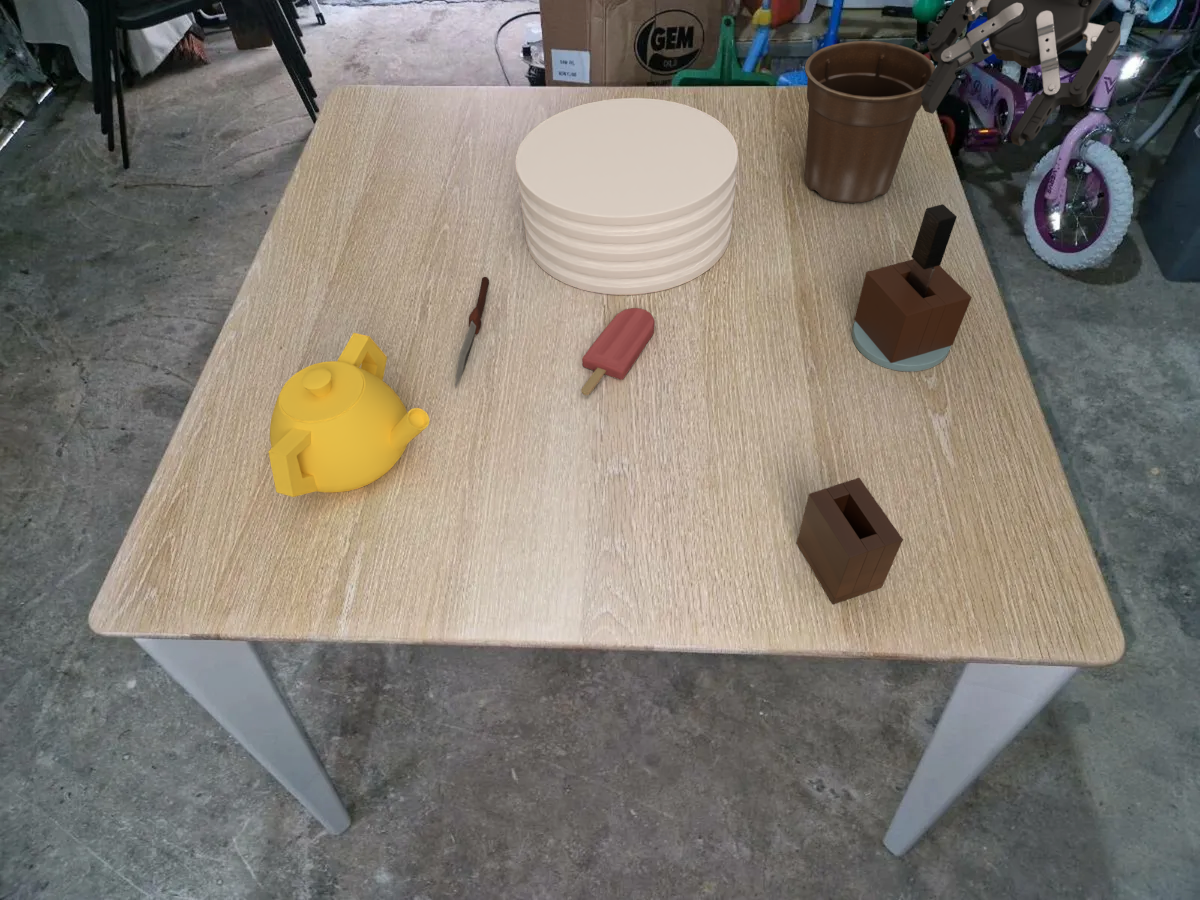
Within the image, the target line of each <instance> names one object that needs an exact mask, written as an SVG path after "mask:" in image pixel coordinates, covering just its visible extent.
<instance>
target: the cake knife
mask: <svg viewBox="0 0 1200 900" xmlns="http://www.w3.org/2000/svg"><path fill="white" fill-rule="evenodd" d="M922 217H923V218H922V220H921V224H920V227H919V230H918V233H917V237H916V241H915V242H914V243H915V244H914V246H913V250H912V253H911V258H912V259H914V263H913V266H912V270H911V273H910V276H909V279H908V283H909V284H910V285H911V286H912V287H913V288H914V289H915V290H916V292H917V293H918V294H919V295H920V296H921V297H922V298H925V297H926V294H927V291H928V288H929V285H930V282H931V279H932V276H933V273H934V270H935V269H934V268H933V267H935V266H939V265H940V266H941V264H942V261H943V259H944V255H945V253H946V250H947V247H948V244H949V241H950V237H951V234H952V232H953V229H954V227H955V223H956V221H957V218H958V217H957V215H956V214H955V213H954V212H953V211H951V210H950V209H949V208H948V207H947V206H946V205H945V204H943V203H942V204H937V205H934V206H930V207H926V208H925V211H924V214H923V216H922Z"/></svg>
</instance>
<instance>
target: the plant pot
mask: <svg viewBox="0 0 1200 900" xmlns="http://www.w3.org/2000/svg"><path fill="white" fill-rule="evenodd" d="M935 68H936V66H935V64H934V63H933V61H931V60H930V59H929V58H928V57H927V56H926V55H925V54H922V53H921V52H919V51H917V50H915V49H912V48H910V47H907V46H904V45H900V44H896V43H891V42H885V41H876V40H855V41H846V42H840V43H835V44H831V45H827V46H825V47H822V48H820V49H818V50H817V51H815V52H813V53H811V55H810V56H809V57H808V58H807V60H806V62H805V65H804V73H805V76H806V78H807V81H806V99H807V102H808V109H807V110H808V113H807V114H808V115H807V131H806V132H807V133H806V147H805V148H806V149H805V164H804V182H805V184H806V186H807V188H808V189H810V191H816V192H817V193H818V194H819V195H820V197H822V198H824V199H827V200H830V201H834V202H838V203H847V204H848V203H849V204H853V203H854V204H855V203H857V204H858V203H865V202H870V201H873V200H874V199H875V198H876V197H878V196H885V194H886V193H888V191H889V190H890V188H891V186H892V183H893V180H894V177H895V174H896V171H897V169H898V166H899V162H900V160H901V157H902V154H903V151H904V149H905V146H906V144H907V141H908V137H909V134H910V132H911V130H912V126H913V124H914V121H915V118H916V115H917V113H918V112H919V111H920V109H921V108H922V99H921V93H922V90H923V88H924V86H925V85H926V83H927V81H928V80H929V78H930V76H931V75H932V73H933V71H934V70H935Z"/></svg>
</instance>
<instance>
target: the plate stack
mask: <svg viewBox="0 0 1200 900" xmlns="http://www.w3.org/2000/svg"><path fill="white" fill-rule="evenodd" d="M738 159H739V150H738V144H737V142H736V140H735V138H734V136H733V134H732V133H731V131H730V130H729V128H727V127H726V125H724V124H723V123H722V122H721V121H719V120H718V119H717V118H715V117H714V116H712V115H710V114H708V113H707V112H705V111H703V110H700V109H698V108H696V107H693V106H690V105H687V104H684V103H680V102H676V101H671V100H666V99H665V100H664V99H657V98H646V97H626V98H625V97H623V98H611V99H603V100H596V101H592V102H587V103H584V104H580V105H576V106H573V107H570V108H568V109H565V110H562V111H560V112H557V113H556V114H553V115H552V116H550V117H548V118H546V119H544V120H543V121H541V122H540V123H538V124H537V125H535V126H534V127H533V128H532V129H531V130H530V131H529V132H528V133H527V134H526V135H525V136H524V137H523V139H522V140H521V142H520V144H519V146H518V148H517V151H516V154H515V171H516V176H517V185H518V191H519V197H520V205H521V211H522V218H523V219H522V220H523V226H524V230H525V231H524V232H525V239H526V245H527V250H528V252H529V254H530V256H531V257H532V259H533V260H534V262H535V263H536V264H537V265H538V266H539V267H540V269H541V270H543V271H544V272H545V273H546V274H548V275H549V276H550V277H552V278H554V279H555V280H557V281H558V282H561V283H563V284H565V285H567V286H570V287H573V288H575V289H580V290H582V291H586V292H591V293H596V294H603V295H612V296H613V295H614V296H615V295H616V296H630V295H631V296H632V295H644V294H645V295H646V294H651V293H656V292H662V291H666V290H669V289H673V288H675V287H676V288H677V287H679V286H681V285H683V284H687V283H688V282H691V281H692V280H695V279H697V278H699V277H700V276H702V275H703V274H704V273H706V272H707V271H708V270H710V269H712V267H714V266H715V265H716V264H717V263H718V262H719V260H720V259H721V258H722V257H723V256H724V254H725V252H726V250H727V249H728V246H729V244H730V241H731V236H732V225H733V215H734V203H735V194H736V190H735V188H736V181H737V168H738V161H739V160H738Z"/></svg>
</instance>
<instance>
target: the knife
mask: <svg viewBox="0 0 1200 900" xmlns="http://www.w3.org/2000/svg"><path fill="white" fill-rule="evenodd" d="M489 286H490V279H489V277H487V276H483V277H481V281H480V287H479V292H478V297H477V301H476V304H475V307H474V308H473V310H472V311H470V314H469V316H468V329H467V332H466V335H465V338H464V341H463V343H462V345H461V348H460V351H459V354H458V359H457V364H456V373H455V382H454V389H456V388H457V386H458V385H459V383H460V381H461V378H462V376H463V373H464V372H465V368H466V366H467V363H468V360H469V358H470V354H471V351H472V347H473V344H474V341H475V338H476V335H478V334H479V332H480V330H481V327H482V318H483V314H484V310H485V306H486V301H487V296H488V291H489Z"/></svg>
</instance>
